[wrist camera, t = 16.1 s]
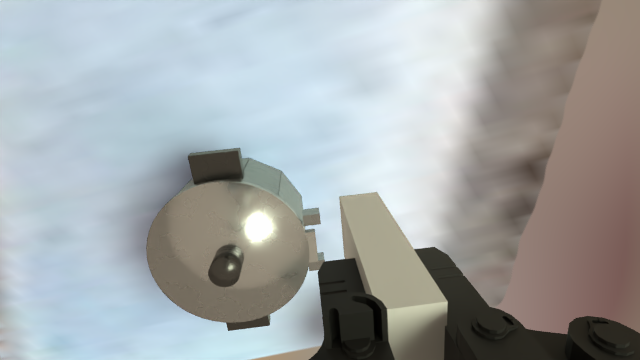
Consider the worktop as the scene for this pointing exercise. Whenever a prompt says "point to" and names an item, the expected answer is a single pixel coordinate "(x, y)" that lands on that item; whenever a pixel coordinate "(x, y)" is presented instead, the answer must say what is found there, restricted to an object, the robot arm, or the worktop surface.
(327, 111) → the worktop surface
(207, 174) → the pot
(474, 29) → the worktop surface
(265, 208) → the lid
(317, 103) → the worktop surface
